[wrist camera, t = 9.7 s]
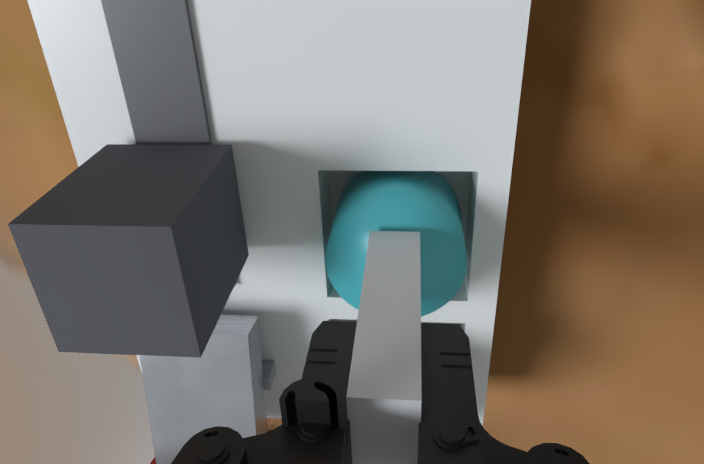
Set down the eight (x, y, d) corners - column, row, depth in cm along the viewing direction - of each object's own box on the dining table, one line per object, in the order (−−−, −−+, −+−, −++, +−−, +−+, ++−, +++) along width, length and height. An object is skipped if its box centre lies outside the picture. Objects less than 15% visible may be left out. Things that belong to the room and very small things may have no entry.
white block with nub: (153, 312, 21) (135, 330, 20) (258, 316, 21) (247, 334, 19) (172, 446, 23) (157, 470, 22) (268, 452, 23) (259, 477, 21)
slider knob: (106, 144, 18) (8, 224, 13) (231, 144, 17) (170, 226, 13) (136, 252, 20) (58, 351, 15) (248, 254, 19) (200, 357, 15)
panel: (28, -216, 16) (-77, -245, 13) (537, -251, 15) (574, -295, 11) (178, 363, 27) (144, 430, 24) (475, 375, 26) (484, 449, 22)
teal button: (333, 160, 19) (320, 201, 17) (464, 161, 19) (471, 202, 16) (339, 267, 22) (329, 317, 19) (457, 270, 21) (462, 322, 19)
